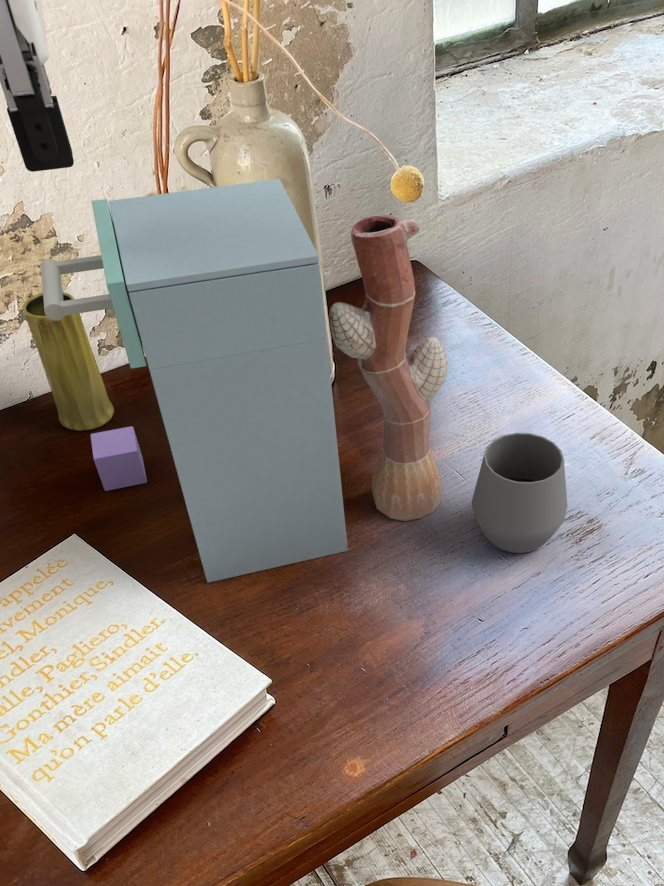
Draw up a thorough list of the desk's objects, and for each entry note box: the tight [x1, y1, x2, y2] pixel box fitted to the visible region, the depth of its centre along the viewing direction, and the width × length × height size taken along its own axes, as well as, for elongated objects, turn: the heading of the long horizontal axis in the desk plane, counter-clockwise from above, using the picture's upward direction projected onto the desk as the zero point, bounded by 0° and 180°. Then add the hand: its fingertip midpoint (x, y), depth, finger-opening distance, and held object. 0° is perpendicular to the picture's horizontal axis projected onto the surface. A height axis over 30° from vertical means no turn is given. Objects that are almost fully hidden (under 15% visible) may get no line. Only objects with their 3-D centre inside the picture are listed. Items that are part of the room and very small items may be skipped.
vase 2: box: [328, 214, 448, 522], centre depth 85 cm, size 10×7×30 cm
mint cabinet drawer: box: [40, 198, 148, 369], centre depth 72 cm, size 19×14×7 cm
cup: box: [471, 432, 568, 554], centre depth 89 cm, size 10×9×10 cm
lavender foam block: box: [90, 425, 148, 492], centre depth 96 cm, size 4×4×4 cm
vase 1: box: [22, 291, 115, 432], centre depth 99 cm, size 6×6×14 cm
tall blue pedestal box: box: [108, 178, 349, 584], centre depth 82 cm, size 14×14×31 cm
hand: (50, 163), depth 63 cm, fingers closed
